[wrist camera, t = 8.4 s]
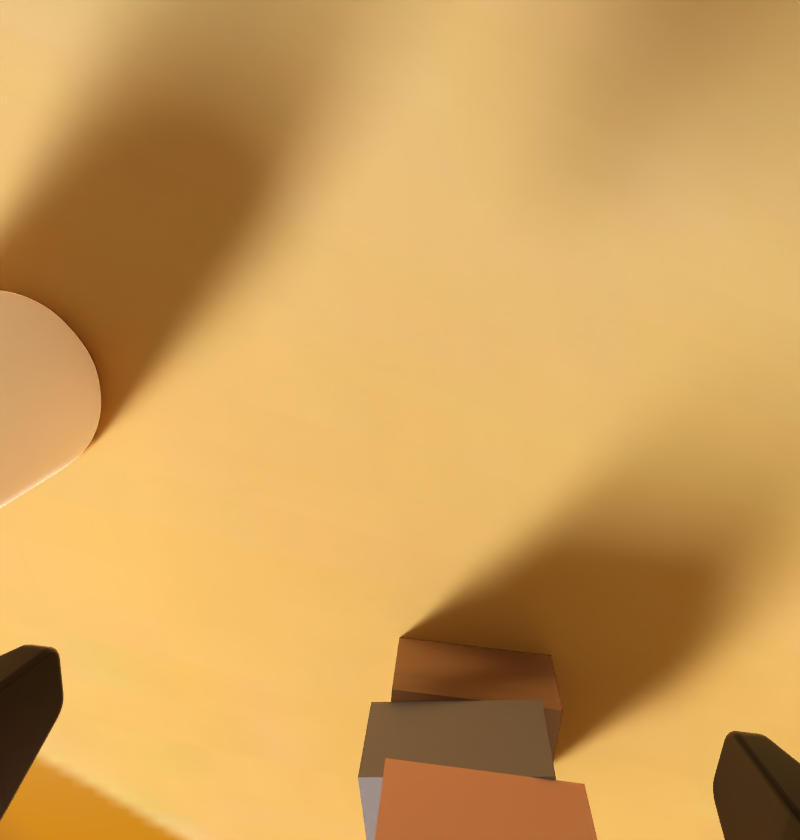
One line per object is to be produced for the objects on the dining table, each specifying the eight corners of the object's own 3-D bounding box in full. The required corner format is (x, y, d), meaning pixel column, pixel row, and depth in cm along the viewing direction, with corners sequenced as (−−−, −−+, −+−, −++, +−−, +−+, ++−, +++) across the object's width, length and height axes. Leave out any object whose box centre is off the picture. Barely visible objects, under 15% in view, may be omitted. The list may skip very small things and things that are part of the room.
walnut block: (549, 651, 23) (562, 710, 20) (529, 770, 25) (538, 840, 22) (400, 633, 24) (392, 689, 21) (389, 752, 25) (380, 819, 22)
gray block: (541, 699, 20) (555, 776, 18) (546, 832, 22) (559, 923, 19) (371, 702, 21) (358, 777, 18) (387, 831, 23) (377, 920, 20)
